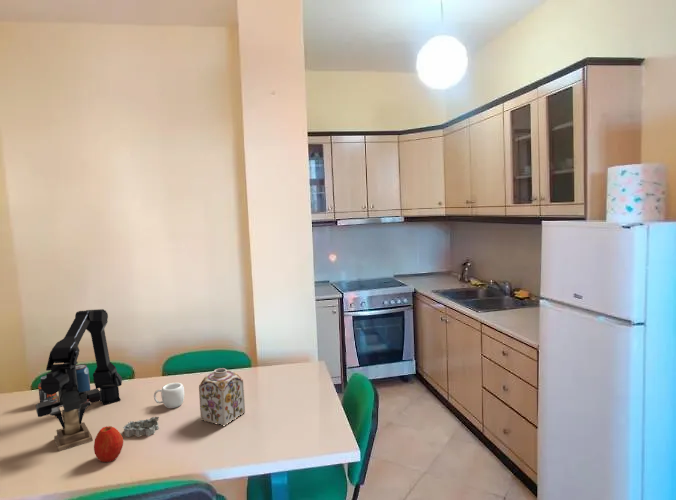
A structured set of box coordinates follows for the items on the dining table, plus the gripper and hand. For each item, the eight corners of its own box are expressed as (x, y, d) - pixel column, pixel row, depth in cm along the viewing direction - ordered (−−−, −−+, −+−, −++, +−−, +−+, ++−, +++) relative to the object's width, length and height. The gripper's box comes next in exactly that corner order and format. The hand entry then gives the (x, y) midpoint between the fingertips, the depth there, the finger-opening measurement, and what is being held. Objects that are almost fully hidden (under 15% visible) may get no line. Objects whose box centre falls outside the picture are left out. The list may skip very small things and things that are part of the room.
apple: (128, 450, 150) (125, 419, 148) (117, 465, 141) (114, 432, 140) (102, 452, 149) (99, 420, 148) (89, 466, 141) (86, 433, 140)
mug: (188, 400, 186) (187, 381, 185) (180, 410, 178) (178, 390, 177) (159, 400, 187) (157, 381, 186) (149, 410, 178) (148, 390, 177)
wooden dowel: (78, 427, 160) (76, 405, 160) (81, 431, 157) (78, 409, 156) (64, 431, 158) (61, 409, 157) (66, 436, 154) (63, 413, 153)
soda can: (94, 391, 199) (91, 364, 197) (81, 398, 192) (78, 370, 191) (81, 389, 200) (78, 363, 199) (68, 396, 194) (65, 369, 192)
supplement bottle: (49, 407, 184) (46, 380, 182) (36, 406, 185) (33, 379, 184) (61, 401, 190) (58, 374, 188) (48, 400, 191) (45, 373, 190)
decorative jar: (200, 421, 168) (196, 373, 166) (222, 407, 178) (219, 362, 176) (225, 427, 163) (222, 378, 161) (246, 413, 173) (243, 367, 171)
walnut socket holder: (87, 429, 165) (86, 420, 164) (92, 440, 157) (91, 431, 156) (54, 439, 159) (53, 429, 158) (58, 451, 151) (57, 441, 150)
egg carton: (161, 427, 165) (160, 416, 165) (151, 438, 158) (150, 426, 157) (132, 427, 166) (131, 416, 165) (121, 438, 158) (120, 426, 158)
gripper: (36, 397, 143) (42, 445, 145) (103, 381, 155) (107, 425, 156) (33, 386, 152) (38, 431, 154) (96, 372, 163) (100, 414, 165)
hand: (72, 426), depth 157 cm, fingers closed on wooden dowel, 4 cm apart
